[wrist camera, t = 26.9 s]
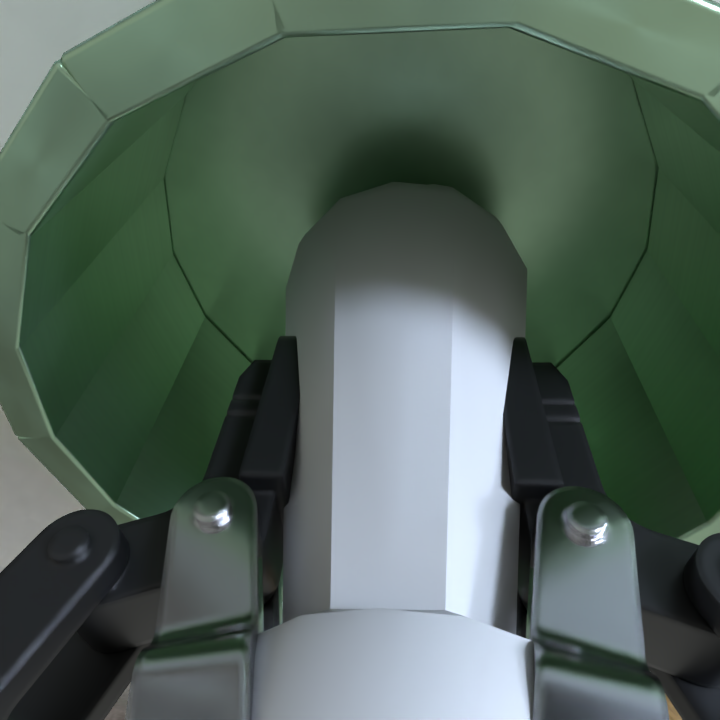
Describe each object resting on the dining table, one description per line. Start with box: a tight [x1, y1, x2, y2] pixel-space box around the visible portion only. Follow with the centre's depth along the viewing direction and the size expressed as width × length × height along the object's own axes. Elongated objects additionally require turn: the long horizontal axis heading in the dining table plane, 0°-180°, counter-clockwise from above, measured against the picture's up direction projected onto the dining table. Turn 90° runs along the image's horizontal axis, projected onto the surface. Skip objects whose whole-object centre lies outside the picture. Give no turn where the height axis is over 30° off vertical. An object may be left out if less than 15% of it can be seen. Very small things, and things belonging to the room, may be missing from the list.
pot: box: [0, 0, 720, 602], centre depth 13 cm, size 15×15×8 cm
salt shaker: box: [252, 182, 534, 720], centre depth 10 cm, size 6×6×13 cm
